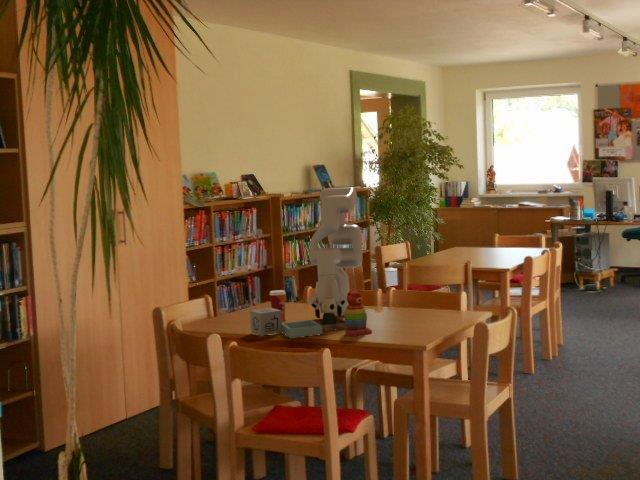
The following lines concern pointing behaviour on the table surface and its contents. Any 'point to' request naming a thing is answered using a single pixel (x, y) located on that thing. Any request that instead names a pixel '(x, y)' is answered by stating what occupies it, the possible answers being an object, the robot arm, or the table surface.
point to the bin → (301, 328)
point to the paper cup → (278, 301)
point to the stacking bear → (356, 315)
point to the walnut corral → (340, 324)
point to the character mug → (328, 311)
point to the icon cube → (266, 321)
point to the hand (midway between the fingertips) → (328, 316)
